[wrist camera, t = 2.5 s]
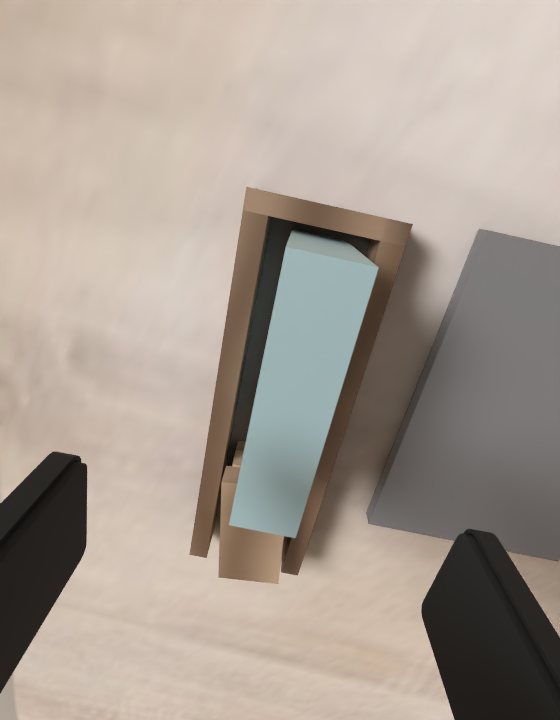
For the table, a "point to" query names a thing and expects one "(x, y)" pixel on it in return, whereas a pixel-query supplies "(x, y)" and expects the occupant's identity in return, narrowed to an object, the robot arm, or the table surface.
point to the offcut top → (245, 542)
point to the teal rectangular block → (300, 378)
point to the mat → (486, 409)
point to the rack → (242, 301)
